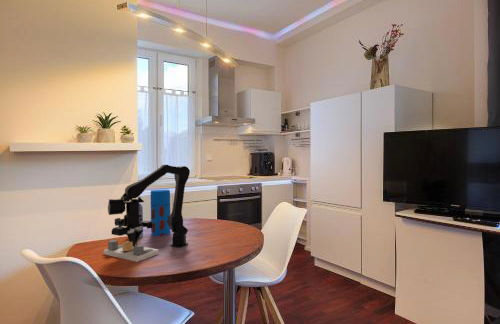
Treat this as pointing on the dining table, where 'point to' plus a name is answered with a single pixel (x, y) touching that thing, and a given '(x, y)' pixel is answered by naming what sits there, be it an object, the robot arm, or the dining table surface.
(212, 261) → the dining table surface
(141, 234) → the aerosol can
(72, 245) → the dining table surface
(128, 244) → the handle
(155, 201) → the tall blue box
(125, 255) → the breaker panel
